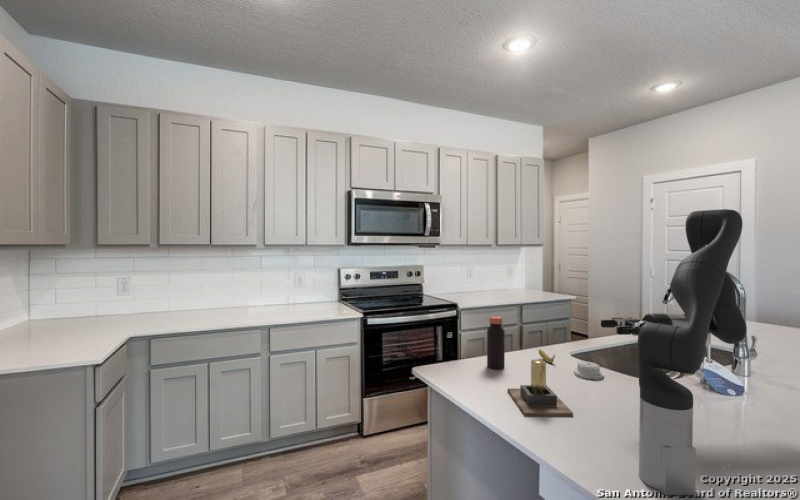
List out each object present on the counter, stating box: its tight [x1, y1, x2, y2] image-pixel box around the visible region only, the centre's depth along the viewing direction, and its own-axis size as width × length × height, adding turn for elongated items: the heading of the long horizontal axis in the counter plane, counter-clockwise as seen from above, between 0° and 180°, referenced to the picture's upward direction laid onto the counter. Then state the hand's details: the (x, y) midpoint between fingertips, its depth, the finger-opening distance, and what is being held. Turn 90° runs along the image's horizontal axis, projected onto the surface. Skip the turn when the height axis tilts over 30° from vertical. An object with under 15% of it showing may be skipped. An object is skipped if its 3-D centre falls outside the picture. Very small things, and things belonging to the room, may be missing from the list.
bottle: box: [486, 315, 506, 370], centre depth 154 cm, size 7×7×20 cm
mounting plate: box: [507, 384, 574, 417], centre depth 120 cm, size 18×14×4 cm
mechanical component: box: [573, 361, 604, 381], centre depth 144 cm, size 10×4×10 cm
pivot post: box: [530, 359, 547, 394], centre depth 120 cm, size 4×4×12 cm
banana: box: [538, 349, 556, 364], centre depth 161 cm, size 10×2×4 cm, turn 15°
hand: (609, 326), depth 110 cm, fingers open, 8 cm apart
